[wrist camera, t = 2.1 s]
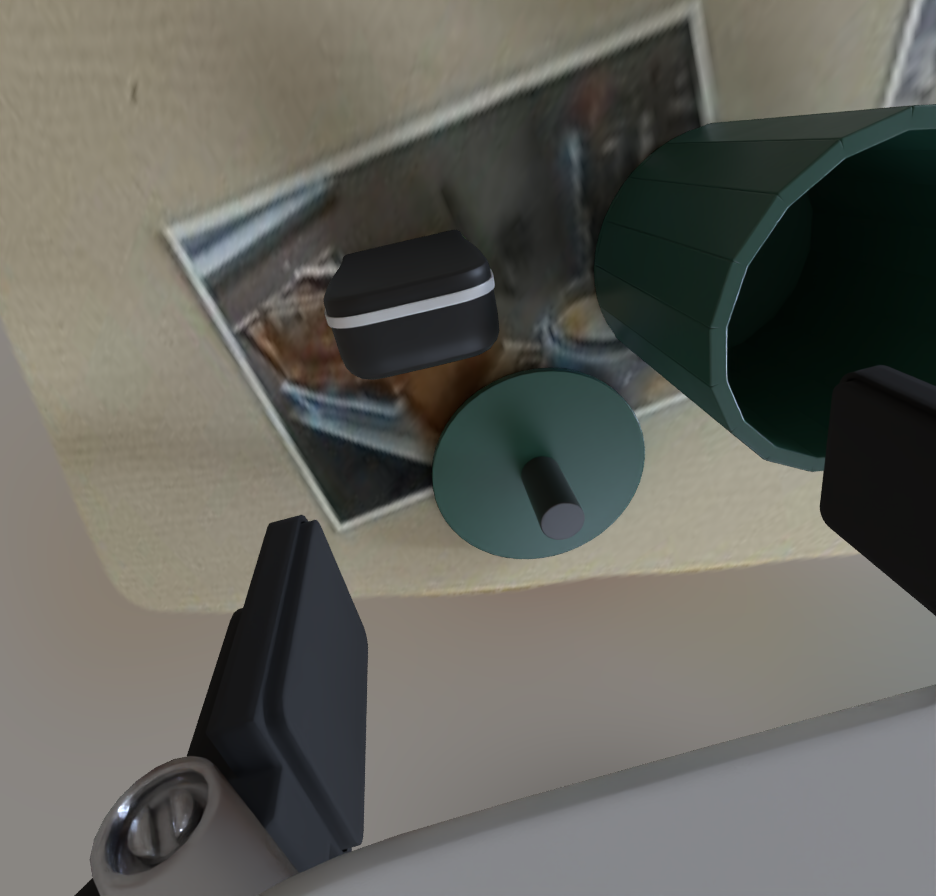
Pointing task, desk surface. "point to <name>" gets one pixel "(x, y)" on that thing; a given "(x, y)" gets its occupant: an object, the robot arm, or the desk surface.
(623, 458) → the lid
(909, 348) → the tin
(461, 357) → the battery charger
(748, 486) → the desk surface
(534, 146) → the desk surface
